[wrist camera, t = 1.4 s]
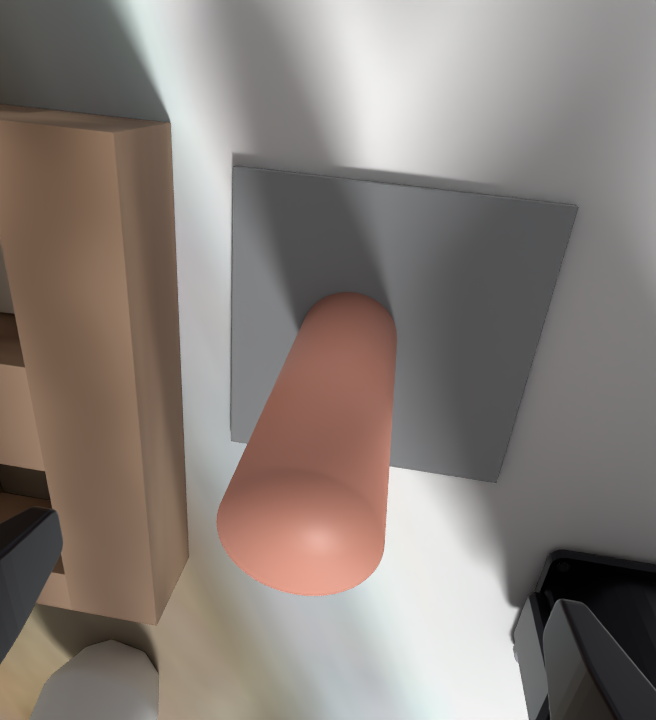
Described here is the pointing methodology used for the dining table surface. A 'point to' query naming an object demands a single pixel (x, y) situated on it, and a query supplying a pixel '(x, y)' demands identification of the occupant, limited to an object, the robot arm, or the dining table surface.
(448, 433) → the mat
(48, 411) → the socket block
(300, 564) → the peg
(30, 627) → the dining table surface
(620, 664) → the robot arm
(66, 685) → the salt shaker
